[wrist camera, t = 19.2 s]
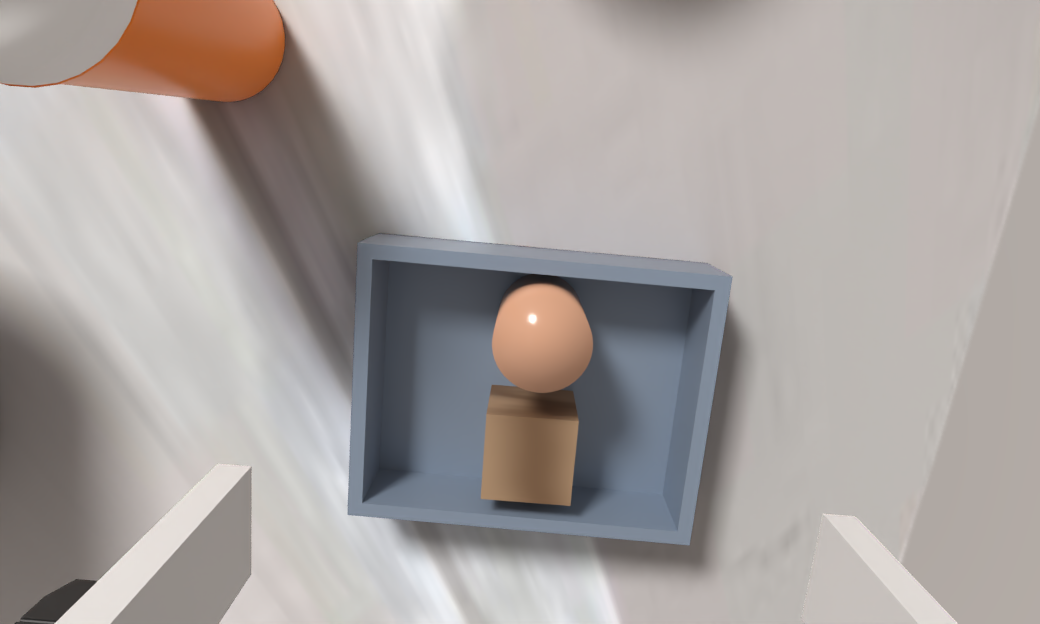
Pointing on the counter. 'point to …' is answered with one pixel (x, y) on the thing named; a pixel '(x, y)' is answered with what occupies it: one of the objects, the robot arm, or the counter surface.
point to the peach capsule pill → (541, 334)
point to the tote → (472, 371)
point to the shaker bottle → (143, 45)
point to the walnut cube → (529, 446)
